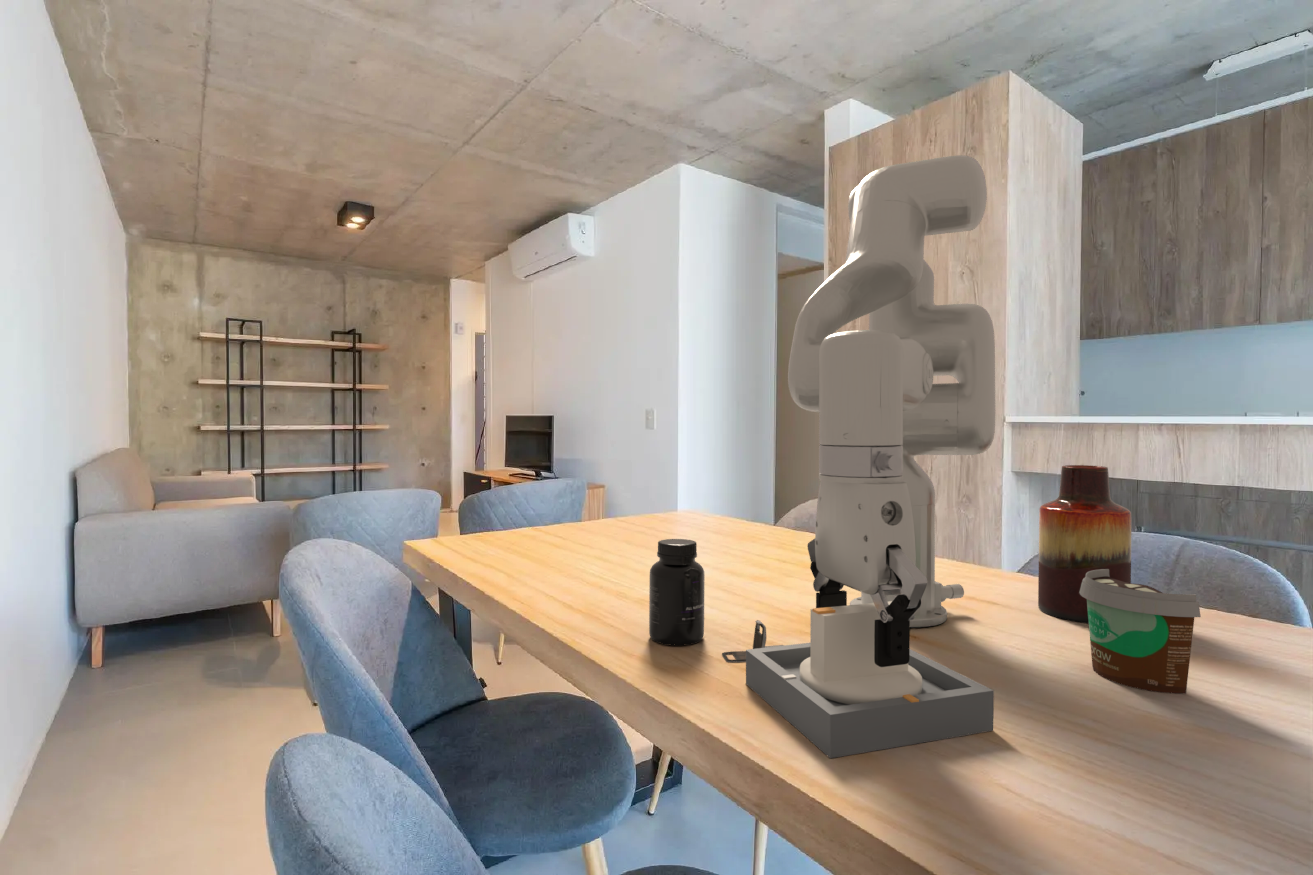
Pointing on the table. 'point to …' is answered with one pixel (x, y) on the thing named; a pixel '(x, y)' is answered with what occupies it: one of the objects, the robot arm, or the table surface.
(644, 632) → the table surface
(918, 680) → the dial
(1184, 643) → the food container
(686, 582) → the supplement bottle
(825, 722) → the dial plate
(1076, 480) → the vase
